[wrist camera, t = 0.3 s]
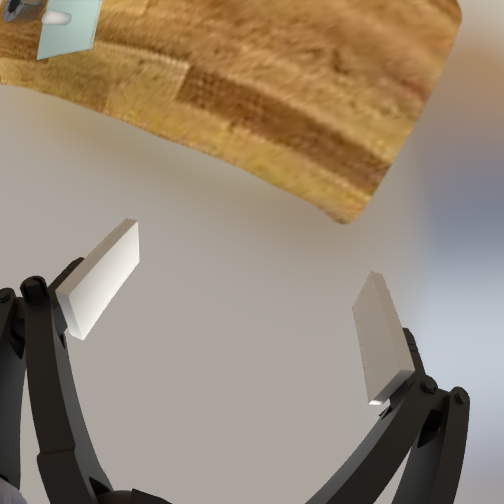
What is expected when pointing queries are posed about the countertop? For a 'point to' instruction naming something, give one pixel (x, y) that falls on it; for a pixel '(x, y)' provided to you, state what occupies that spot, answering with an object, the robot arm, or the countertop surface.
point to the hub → (22, 10)
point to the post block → (68, 27)
